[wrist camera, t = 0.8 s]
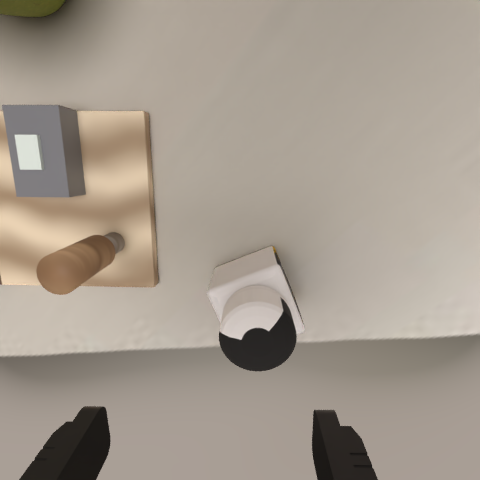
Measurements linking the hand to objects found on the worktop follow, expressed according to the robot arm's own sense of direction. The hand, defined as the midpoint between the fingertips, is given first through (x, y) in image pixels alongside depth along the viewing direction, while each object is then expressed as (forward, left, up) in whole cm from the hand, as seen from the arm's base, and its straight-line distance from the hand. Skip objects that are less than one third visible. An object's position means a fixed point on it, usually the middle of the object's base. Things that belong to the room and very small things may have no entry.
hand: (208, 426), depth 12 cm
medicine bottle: (+3, +2, -23) cm, 24 cm away
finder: (-11, -18, -22) cm, 30 cm away
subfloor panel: (-6, -22, -23) cm, 32 cm away
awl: (-2, -13, -22) cm, 25 cm away
